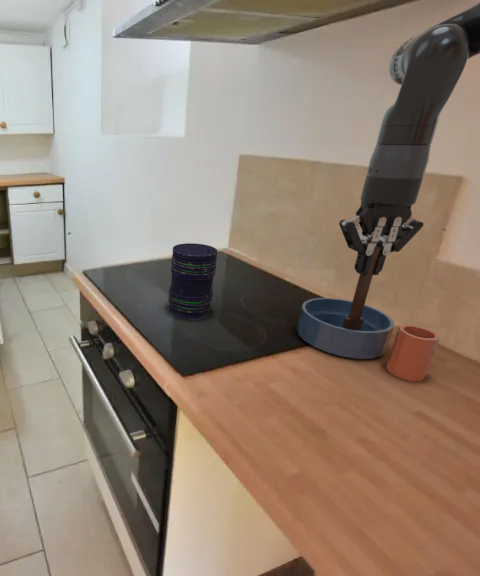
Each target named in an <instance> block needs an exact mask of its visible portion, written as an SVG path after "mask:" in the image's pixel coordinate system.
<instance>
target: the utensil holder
mask: <svg viewBox="0 0 480 576" xmlns="http://www.w3.org/2000/svg"><path fill="white" fill-rule="evenodd" d="M394 338H395V339H394V341H393V344H392V347H391V350H390V353H389V356H388V358H387V362H386V367H385V368H386V370H387V371H388V372H389V373H390V374H391V375H392V376H394V377H397V378H399V379H401V380H405V381H409V382H421V381H423V380H424V378H425V377H426V376H427V372H428V370H429V367H430V365H431V362H432V360H433V357H434V356H435V352H436V350H437V347H438V344H439V342H440V339H441V337H440V335H439V334H438V333H437V332H435V331H433V330H431V329H429V328H426V327H424V326H419V325H414V324H402V325H400V326H399V327H398V329H397V332H396V335H395V337H394Z"/></svg>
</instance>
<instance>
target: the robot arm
mask: <svg viewBox="0 0 480 576" xmlns="http://www.w3.org/2000/svg"><path fill="white" fill-rule="evenodd" d="M477 55H480V1H479V2H477V3H476V4H474V5H472V6H471V7H469V8H467V9H465V10H464V11H461V12H459V13H457V14H455V15H453V16H451V17H449V18H447V19H445V20H443V21H441V22H439V23H437V24H435V25H433V26H431V27H429V28H427V29H426V30H424V31H421V32H420V33H418V34H416V35H413V36H412V37H410V38H408V39H407V40H405V41H404V42H403V43H402V44H401V45H400V46H399V47H398V48H397V49H396V50H395V52H394V53H393V55H392V57H391V59H390V61H389V64H388V74H389V77H390V79H391V80H392V81H393V82H394V83H395V84H397V85H399V86H400V88H399V91H398V94H397V96H396V99H395V102H394V103H393V104H391V106H389V107H388V108H387V109H386V110H385V112H384V114H383V116H382V120H381V123H380V128H379V131H378V136H377V138H376V142H375V143H376V144H375V146H374V148H373V152H372V154H371V157H370V160H369V162H368V167H367V172H366V175H365V179H364V184H363V187H362V191H361V195H360V206H359V208H358V209H357V210H356V212H355V215H354V216H352V217H350V218H348V219H345V218H344V219H340V220H339V223H338V225H339V228H340V229H341V232H342V235H343V237H344V241H345V242H346V245H347V247H348V249H350V250H353V251H355V252H357V255H356V259H355V263H354V267H353V268H354V270H355V273H356V274H358V275H360V274H361V275H367V274H368V270H369V267H370V263H371V260H372V256H371V254H372V253H373V251H374V247H375V246H377V247H379V248H380V252H379V255H378V259H377V262H376V266H375V269H374V273H373V276H378V275H380V273H381V272H382V271H383V268H384V265H385V261H386V258H387V256H388V255H389V254H390V253H394V252H395V253H398V252H400V251H401V250H403V248H404V247H405V246H406V245H407V244H408V243H409V242H410V241H411V240H412V239H413V238H414V236H416V234H417V233H418V232H419V231H420V230H421V229H422V228H423V227H424V222H423V221H420V220H417V219H415V218H414V217H412V214H413V211H412V206H413V205H415V204H416V202H417V199H418V196H419V193H420V189H421V186H422V183H423V180H424V176H425V173H426V170H427V167H428V164H429V159H430V152H431V148H432V143H433V140H434V137H435V134H436V130H437V128H438V124H439V120H440V116H441V113H442V111H443V109H444V107H445V106H446V105H447V103H448V101H449V99H450V98H451V95H452V94H453V92H454V90H455V88H456V86H457V84H458V82H459V80H460V78H461V76H462V75H463V73H464V70H465V68H466V65H467V62H468V60H470V59H472V58H473V57H475V56H477ZM359 229H360V230H359ZM358 230H359V232H358Z"/></svg>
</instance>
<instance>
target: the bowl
mask: <svg viewBox="0 0 480 576" xmlns="http://www.w3.org/2000/svg"><path fill="white" fill-rule="evenodd" d="M352 302H353V300H348V299H343V298H333V297H316V298H311V299H308V300H305V301H304V302H303V303H302V304H301V307H300V313H299V317H298V321H297V325H296V332H297V334H298V336H299V337H300V338H301V339H302V341H304V342H306V343H307V344H309V345H311V346H312V347H314V348H316V349H319V350H321V351H323V352H325V353H328V354H332V355H336V356H340V357H344V358H351V359H357V360H360V359H365V360H366V359H367V360H368V359H375V358H379V357H382V356H383V355H384V354H385V353H386V352H387V349H388V346H389V343H390V340H391V337H392V335H393V331H394V328H395V321H394V320H393V319H392V318H391V317H390V316H389V315H387V314H386V313H385V312H383V311H382V310H379V309H377V308H374V307H372V306H369V305H367V304H364V308H363V312H362V315H361V318H363V319H364V320H363V324H362V327H361V331H358V330H350V329H346V328H342V326H343V322H344V318H345V317H349V313H350V309H351V306H352Z"/></svg>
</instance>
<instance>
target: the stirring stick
mask: <svg viewBox="0 0 480 576" xmlns="http://www.w3.org/2000/svg"><path fill="white" fill-rule="evenodd" d="M379 252H380V248H379V247H377V246H375V247H374V251H373V253H372V254H371V256H372V260H371V263H370V267H369V270H368V274H367V275H361V274H359V276H358V280H357V284H356V288H355V291H354V295H353V299H352V301H353V302H352V306H351V309H350V313H349V317H345V318H344V322H343V326H342V328H346V329H350V330H358V331H361V327H362V324H363V320H364V319H363V318H361V315H362V312H363V308H364V305H366V302H367V301H366V300H367V298H368V294H369V290H370V286H371V283H372V280H373V276H374V275H373V273H374V269H375V266H376V262H377V259H378V255H379Z"/></svg>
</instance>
